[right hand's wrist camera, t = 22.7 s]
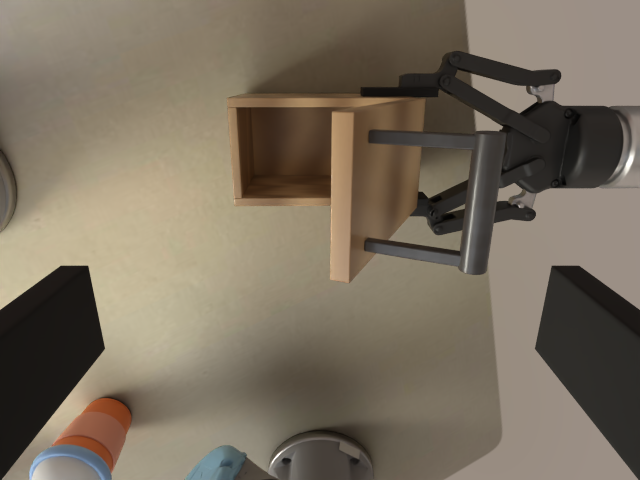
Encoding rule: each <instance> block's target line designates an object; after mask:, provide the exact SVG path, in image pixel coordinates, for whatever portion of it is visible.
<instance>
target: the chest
mask: <svg viewBox="0 0 640 480" xmlns="http://www.w3.org/2000/svg"><path fill="white" fill-rule="evenodd" d="M409 98H414V97H363V96H361V93H245V94H241V95H237V96H233V97H229V98H227V106H228V120H229V135H230V149H231V164H232V178H233V192H234V205H235V206H323V205H331V156H332V111H337V110H343V109H349V108H355V107H361V106H367V105H373V104H379V103H385V102H391V101H397V100H403V99H409Z"/></svg>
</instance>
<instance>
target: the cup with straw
mask: <svg viewBox="0 0 640 480" xmlns="http://www.w3.org/2000/svg"><path fill="white" fill-rule="evenodd" d="M130 424H131V414H130V411H129V410H128V408H127V407H126V406H125V405H124V404H122V403H121V402H119V401H117V400H114V399H110V398H101V399H97V400H95V401H93V402H92V403H91V404H90V405H89V406H88V407H87V408H86V409H85V410H84V411H83V412H82V414H81V415H79V416H78V417H76V418H75V419H74V420H73V422H72V423H71V424H70V425H69V426H68V427H67V428H66V429H65V431H64V432H63V433H62V434H61V435H60V436H59V437H58V439H57V440H56V441H55V442H54V443H53V444H52V446H51V447H50V448H47V449H46V450H44V451H43V452H41V453H40V454H39V455H38V456H37V457H36V458H35V460H34V461H33V463H32V465H31V468H30V473H29V477H30V480H111V479H112V478H111V473H112V471H113V470H114V467H115V465H116V462H117V460H118V457H119V455H120V452H121V450H122V447H123V445H124V442H125V439H126V434H127V431H128V429H129V426H130Z"/></svg>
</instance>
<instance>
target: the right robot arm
mask: <svg viewBox="0 0 640 480" xmlns="http://www.w3.org/2000/svg"><path fill="white" fill-rule="evenodd" d="M15 205H16V185H15V180H14V176H13V173H12V171H11V168H10V166H9V164H8V162H7V160H6V158H5V156H4V155H3V153H2V152H1V150H0V232H1V231H2V230H3V229H4V228H5V227H6V225H7V224H8V223H9V221H10V219H11V217H12V215H13V213H14V209H15ZM104 349H105V347H104V342H103V337H102V332H101V327H100V322H99V317H98V312H97V307H96V302H95V297H94V292H93V287H92V282H91V277H90V273H89V268H88V266H60V267H59V268H57V269H56V270H54V271H53V272H52V273H50V274H49V275H48V276H46V277H45V278H43V279H42V280H41V281H39V282H38V283H37V284H35V285H34V286H33V287H31V288H30V289H28V290H27V291H26V292H24V293H23V294H22V295H20V296H19V297H17V298H16V299H15V300H13V301H12V302H11V303H9V304H8V305H6V306H5V307H4V308H2V309H1V310H0V480H2V478H3V477H4V476H5V474H6V473H7V472H8V471H9V469H10V468H11V467H12V466H13V464H14V463H15V462H16V461H17V459H18V458H19V457H20V456H21V454H22V453H23V452H24V450H25V449H26V448H27V447H28V445H29V444H30V443H31V442H32V440H33V439H34V438H35V437H36V435H37V434H38V433H39V432H40V430H41V429H42V428H43V426H44V425H45V424H46V423H47V421H48V420H49V419H50V418H51V416H52V415H53V414H54V413H55V411H56V410H57V409H58V408H59V406H60V405H61V404H62V402H63V401H64V400H65V399H66V397H67V396H68V395H69V394H70V392H71V391H72V390H73V389H74V387H75V386H76V385H77V384H78V382H79V381H80V380H81V378H82V377H83V376H84V375H85V373H86V372H87V371H88V370H89V368H90V367H91V366H92V365H93V363H94V362H95V361H96V360H97V358H98V357H99V356H100V354H101V353H102V352H103V351H104ZM535 349H536V351H537V352H538V353H539V354H540V356H541V357H542V358H543V360H544V361H545V362H546V363H547V365H548V366H549V367H550V368H551V370H552V371H553V372H554V373H555V375H556V376H557V377H558V378H559V380H560V381H561V382H562V384H563V385H564V386H565V387H566V389H567V390H568V391H569V392H570V394H571V395H572V396H573V397H574V399H575V400H576V401H577V402H578V404H579V405H580V406H581V407H582V409H583V410H584V411H585V413H586V414H587V415H588V416H589V418H590V419H591V420H592V421H593V423H594V424H595V425H596V426H597V428H598V429H599V430H600V432H601V433H602V434H603V435H604V437H605V438H606V439H607V440H608V442H609V443H610V444H611V445H612V447H613V448H614V449H615V450H616V452H617V453H618V454H619V456H620V457H621V458H622V459H623V461H624V462H625V463H626V464H627V466H628V467H629V468H630V469H631V471H632V472H633V473H634V474H635V476H636V477H637V478H638V480H640V310H639V309H638V308H636V307H635V306H634V305H632V304H631V303H629V302H628V301H627V300H625V299H624V298H623V297H621V296H620V295H618V294H617V293H616V292H614V291H613V290H611V289H610V288H609V287H607V286H606V285H605V284H603V283H602V282H601V281H599V280H598V279H597V278H595V277H594V276H592V275H591V274H590V273H588V272H587V271H585V270H584V269H583V268H581V267H580V266H552V268H551V273H550V277H549V282H548V287H547V292H546V297H545V302H544V307H543V312H542V317H541V322H540V327H539V332H538V337H537V342H536V347H535Z"/></svg>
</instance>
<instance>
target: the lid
mask: <svg viewBox="0 0 640 480" xmlns="http://www.w3.org/2000/svg"><path fill="white" fill-rule="evenodd" d="M425 101H426V99H425V98H409V99H403V100H397V101H391V102H385V103H379V104H373V105H367V106H361V107H355V108H349V109H343V110H337V111H332V156H331V252H330V279H331V280H336V281H341V282H346V283H350V282H351V281H352V280H353V278H354V277H355V276H356V275H357V274H358V273H359V272H360V271H361V270H362V268H363V267H364V266H365V265H366V264H367V263H368V262H369V261H370V259H371V258H372V257H373V256H374V255H375V254H376V253H378V254H385V255H391V256H397V257H403V258H409V259H415V260H421V261H427V262H433V263H439V264H445V265H452V266H458V269H459V270H460V271H462V272H464V273H467V274H472V275H481V274H484V273H486V271H487V264H488V258H489V251H490V244H491V237H492V230H493V224H494V217H495V210H496V203H497V196H498V189H499V183H500V176H501V169H502V162H503V156H504V149H505V142H506V135H507V134H506V133H505V132H499V131H476V132H475V133H474V134H462V133H442V132H423V126H424V113H425ZM422 147H435V148H451V149H467V150H472V156H471V164H470V172H469V181H468V189H467V197H466V205H465V213H464V222H463V230H462V238H461V246H460V251H455V250H449V249H442V248H436V247H429V246H422V245H416V244H409V243H402V242H396V241H389V240H388V239H389V238H390V237H391V236H392V235H393V234H394V233H395V231H396V230H397V229H398V228H399V227H400V226H401V225H402V224H403V223H404V221H405V220H406V219H407V218H408V217H409V216H410V215H411V214H412V212H413V211H414V210H415V209H416V208H417V199H418V187H419V175H420V162H421V150H422Z"/></svg>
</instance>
